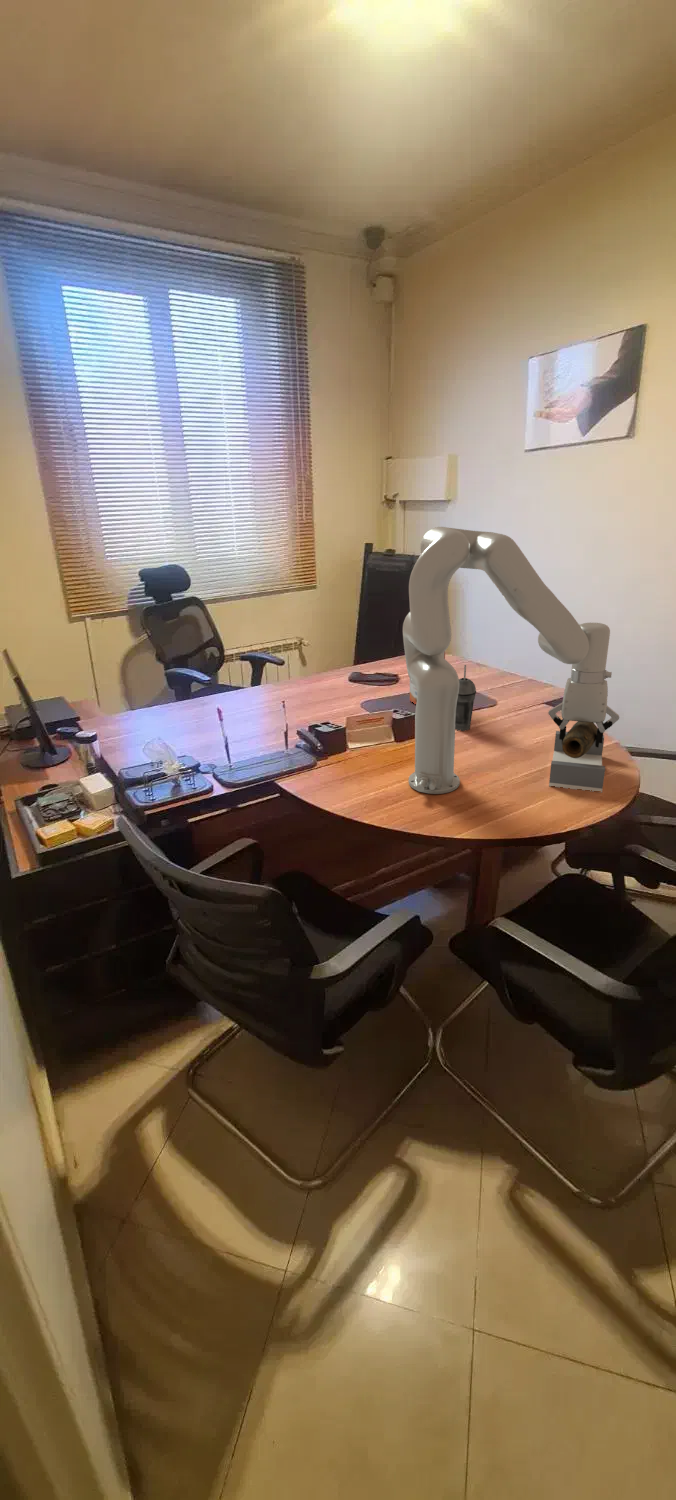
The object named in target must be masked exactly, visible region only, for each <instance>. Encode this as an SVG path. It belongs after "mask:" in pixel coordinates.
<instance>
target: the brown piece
mask: <svg viewBox="0 0 676 1500" xmlns="http://www.w3.org/2000/svg"><path fill="white" fill-rule="evenodd" d="M597 729H598V726H597V724H596V723H593V722H579V721H575V723H574V724H573V725H572V727H571V728H570V729H569V730H568V731H567V732H568V733H567V734H566V736H565V738H564V739H563V743H562V748H563V751H564V753H565V754H566V755H567V756H569V757H572V758H579V757H581V756H583V755H584V754H586V753H587V752H588V751H589V749H590V748H591V746H592V745H593V743H594V742H595V740H596V734H597Z"/></svg>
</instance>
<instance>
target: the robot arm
mask: <svg viewBox="0 0 676 1500" xmlns="http://www.w3.org/2000/svg"><path fill="white" fill-rule="evenodd" d="M420 541H421V542H420V547H419V548H420V549H419V550H420V553H421V554H420V555H419V557H418V558H417V560H416V562H415V564H414V566H413V568H412V570H411V573H410V575H409V581H408V597H409V612H408V613H407V614H406V616H405V617H404V621H403V623H402V641H403V649H404V657H405V664H406V670H407V675H408V677H409V681H410V680H411V681H412V683H413V684H414V685H415V687H416V688H417V703H416V705H415V714H414V715H415V716H414V719H415V720H414V747H415V748H414V772H412V773H411V774H410V775H409V776H408V785H409V786H410V788H411V789H413V790H416V791H417V792H420V793H424V794H429V795H430V794H431V795H440V794H441V795H442V794H448V793H450V792H453V791H455V790H457V788H459V786H460V783H461V780H460V777H459V776H458V775H457V774H456V773H455V746H456V745H455V743H456V742H455V740H456V729H455V716H456V704H457V698H458V693H459V679H460V678H459V675H458V673H457V671H456V669H455V667H454V666H453V665H452V664H451V663H450V662H449V661H448V660H447V659H446V658H445V659H444V651H445V652H446V651H447V650H448V647H450V644H451V642H452V627H451V620H450V619H451V618H450V607H449V586H450V582H451V579H452V577H453V576H454V575H455V573H456V572H457V571H458V570H459V569H460V568H461V569H471V570H481V571H483V572H484V573H486V575H487V577H488V578H489V579H490V580H491V582H492V583H493V585H494V586H495V587H496V588H497V589H498V591H499V592H500V593H501V595H502V596H503V598H504V600H506V602H507V603H508V605H509V606H510V607H511V609H512V610H513V611H515V613H517V615H518V616H520V617H521V618H522V619H524V620H525V621H526V622H528V623H529V624H530V625H532V626H533V627H534V629H536V630H537V631H538V632H539V633H538V636H537V643H538V646H539V648H540V649H541V650H542V652H544V653H545V654H548V655H549V656H551V657H553V658H554V659H556V660H558V661H559V662H561V663H563V664H566V665H571V672H570V673H571V674H570V677H568V678H567V681H566V682H565V686H564V690H563V697H562V702H560V703H558V704H557V705H556V706H553V707H552V708H550V709H549V710H548V713H547V714H548V716H549V717H550V718H551V720H553V722H554V723H555V724H556V726H557V727H558V728H559V731H560V736H559V740H562V743H563V739H564V738H565V736H566V732H567V725H568V724H569V722H578V721H579V722H593V723H594V724H595V725H596V726H597V728H598V729H597V734H596V743H595V747H599V743H602V739H603V735H604V733H605V732H606V731H607V730H608V729H610V727H612V726H613V725H614V724H615V723H616V722H618V721H619V720H620V714H618V713H617V712H616V711H615V710H613V709H612V708H611V707H609V706H608V693H609V692H608V691H609V690H608V681H607V679H608V678H612V671H608V670H607V661H608V654H609V653H608V652H609V643H610V636H611V629H610V627H609V626H608V625H607V624H605V623H601V622H585V623H578V621H577V620H576V618H575V616H574V615H573V614H572V613H571V612H570V611H569V610H568V608H567V607H566V606H565V605H564V604H563V603H562V602H561V601H560V599H559V598H558V597H557V596H556V594H554V592H553V591H552V590H551V589H550V588H549V587H548V586H547V585H546V583H545V582H544V581H543V579H542V578H541V577H540V576H539V573H537V572H536V570H535V569H534V566H532V564H531V562H530V561H529V560H528V558H527V557H526V555H525V554H524V553H523V551H522V550H521V548H520V546H518V543H516V541H514V539H512V537H510V536H508V535H507V534H503V533H497V532H492V531H482V530H481V531H479V530H469V529H463V528H454V527H446V526H436V527H432V528H431V529H429V530H428V531H426V532H425V534H424V535H423V536H422V539H421V540H420ZM560 711H561V718H560V716H558V715H557V713H559V712H560ZM607 715H609V717H610V718H609V719H608V720H606V716H607ZM605 720H606V721H605ZM604 721H605V722H604Z"/></svg>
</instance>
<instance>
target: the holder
mask: <svg viewBox="0 0 676 1500" xmlns="http://www.w3.org/2000/svg"><path fill="white" fill-rule="evenodd" d="M568 732H569V731H566V734H567V733H568ZM559 736H560V730H556V731H555V736H554V738H555V739H554V747H553V748H554V750H553V754H552V760H551V761H550V773H549V782H548V786H549V787H551V786H555V787H554V788H560V787H563V788H562V789H568V788H570V790H577V789H582V790H581V791H585V790H590V791H589V792H594V791H601V792H600V793H603V787H604V780H605V773H606V766H605V765H603V750H604V745H605V744H604V743H605V735H604V734H603V739H602V743H599V747H595V743H596V740H595V742H594V743H593V745H592V746H591V748H590V749H589V751H588V752H587V753H586V754H584V755H583V756H581V757H579V758H572V757H569V756H567V755H566V754H565V753H564V751H563V748H562V740H559ZM591 790H592V791H591Z"/></svg>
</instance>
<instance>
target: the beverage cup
mask: <svg viewBox="0 0 676 1500" xmlns="http://www.w3.org/2000/svg"><path fill="white" fill-rule="evenodd" d="M466 676H467V664H464V668H463V677H462V678H459V693H458V698H457V704H456V716H455V730H456V729H457V731H460V730H461V731H460V732H463V731H465V730H466V731H469V730H470V729H471V724H472V717H473V711H474V710H473V709H474V702H475V699H476V694H477V688H476V684H475V683H474V682H473V680H471V679H470V678H467V677H466ZM466 731H465V732H466Z"/></svg>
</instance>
